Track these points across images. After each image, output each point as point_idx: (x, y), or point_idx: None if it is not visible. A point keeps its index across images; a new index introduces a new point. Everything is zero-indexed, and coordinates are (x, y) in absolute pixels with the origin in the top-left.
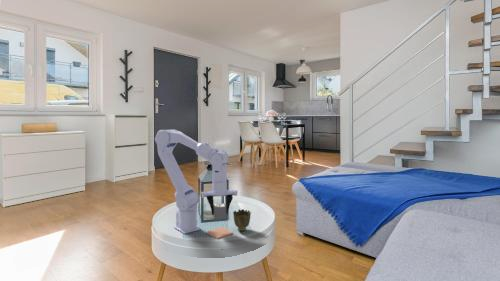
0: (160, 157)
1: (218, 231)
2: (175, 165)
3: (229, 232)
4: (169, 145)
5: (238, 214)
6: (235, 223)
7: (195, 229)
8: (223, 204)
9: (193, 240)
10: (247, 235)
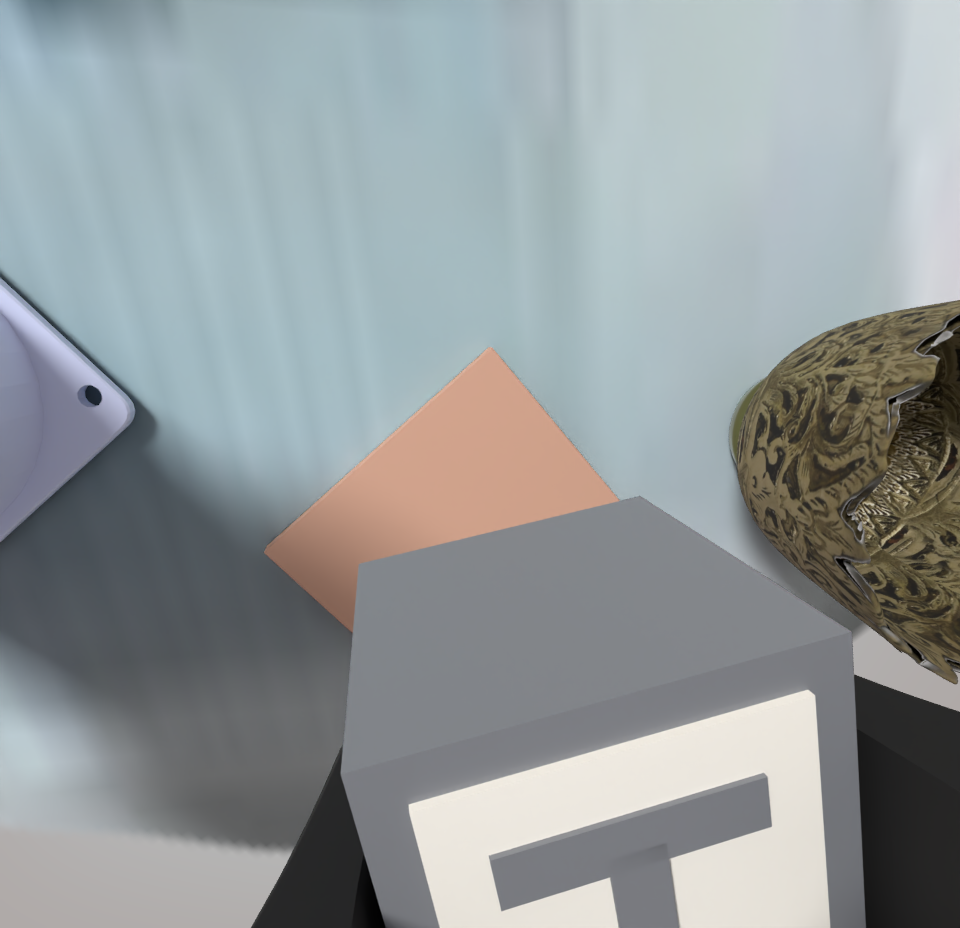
0: None
1: (454, 529)
2: None
3: None
4: None
5: (910, 329)
6: (760, 526)
7: (42, 473)
8: (795, 801)
9: (145, 792)
10: (821, 589)
